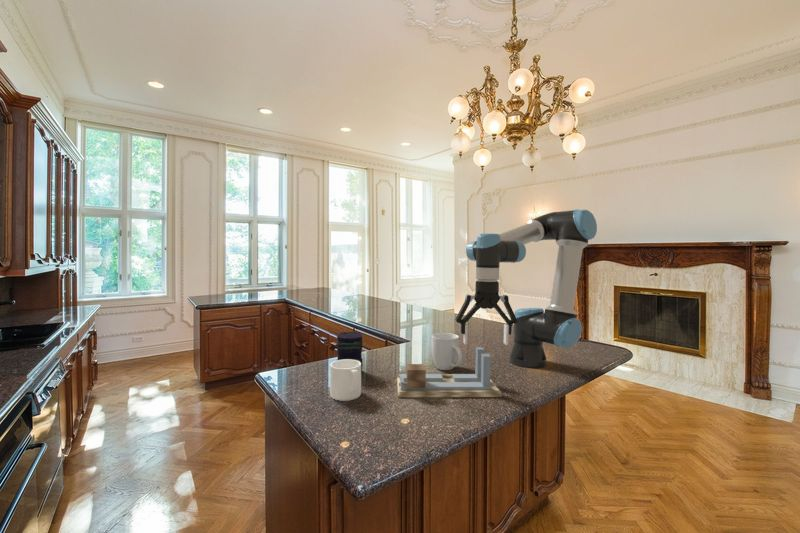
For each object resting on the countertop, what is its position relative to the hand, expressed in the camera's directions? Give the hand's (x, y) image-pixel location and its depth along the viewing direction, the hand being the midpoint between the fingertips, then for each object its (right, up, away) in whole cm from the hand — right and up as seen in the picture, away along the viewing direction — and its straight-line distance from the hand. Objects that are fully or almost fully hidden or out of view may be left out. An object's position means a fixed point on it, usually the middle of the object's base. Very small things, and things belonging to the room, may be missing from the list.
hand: (485, 343), depth 118 cm
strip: (-13, -15, +1) cm, 20 cm away
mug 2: (-10, -15, +24) cm, 30 cm away
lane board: (-12, -16, +5) cm, 21 cm away
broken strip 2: (-4, -15, +9) cm, 18 cm away
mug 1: (-46, -17, -3) cm, 49 cm away
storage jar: (-48, -16, +18) cm, 54 cm away
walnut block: (-23, -14, 0) cm, 27 cm away
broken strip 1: (-21, -15, +8) cm, 27 cm away
